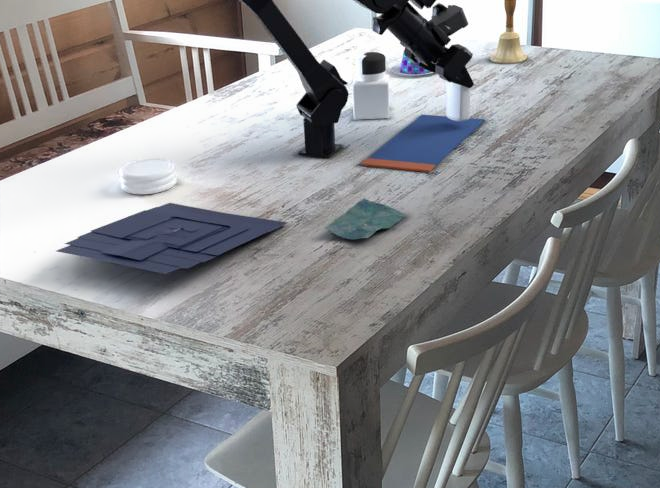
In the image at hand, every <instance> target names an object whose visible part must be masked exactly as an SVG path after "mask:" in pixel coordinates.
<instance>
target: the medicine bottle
mask: <svg viewBox="0 0 660 488" xmlns="http://www.w3.org/2000/svg"><path fill="white" fill-rule="evenodd" d="M354 65H355V66H354V69H355V75H353V78H352V109H353V111H352V112H353V120H355V121H357V120H359V121H360V120H379V119H389V118H390V75H389V74H388V73H387V69H386V67H387V66H386V65H387V64H386V56H385V54H383V53H381V52H377V51H367V52H362V53H359V54H358V55H356V57H355V58H354Z"/></svg>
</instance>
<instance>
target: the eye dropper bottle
mask: <svg viewBox="0 0 660 488" xmlns="http://www.w3.org/2000/svg"><path fill="white" fill-rule="evenodd" d="M466 66H467V65H466ZM466 66H465V67H466ZM466 68H467V67H466ZM445 83H446V85H445V89H446V90H445V116H447V117H448V118H449V119H451V120H454V121H466V120H469V118H471V95H472V93H471V92H472V91H471V90H472V87H471V88H467V87H465V86H462V85H459V84H456V83H453V82H448V81H446V82H445Z"/></svg>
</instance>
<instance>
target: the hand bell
mask: <svg viewBox="0 0 660 488" xmlns="http://www.w3.org/2000/svg"><path fill="white" fill-rule="evenodd" d="M503 4H504V5H503V6H504V11H505V15H506V20H505V32H502V33H501V34H500V35H499V36H498V37H499V39H498V44H497V47H496V49H495V52H494V53H493V54H492V55H491V56H490V58H489V59H490V61H491V62H493V63H495V64H504V65H507V64H508V65H511V64H518V63H522V62H525V61H526V60H527V59H528V57H527V55H526V53H524V51H523V50H522V46H521V39H520V34H518V33H517V32H515V31H514V30H515V29H514V14H515V11H516V8H517V7H516V6H517V0H504V2H503Z"/></svg>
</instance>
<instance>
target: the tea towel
mask: <svg viewBox="0 0 660 488" xmlns="http://www.w3.org/2000/svg"><path fill="white" fill-rule="evenodd" d="M484 122H485V119H484V118H473V117H470V118H469V120H466V121H454V120H451V119H449V118H448V117H447V116H446V115H433V114H420V116H418V117H416V118H415V119H414V120H412V122H411V123H410V124H408V125H407V126H406V127H405V128H403V129H402V130H401V131H400V132H398V133H397V134H396V135H394V136H393V137H392V138H391V139H389V140H388V141H387V142H386V143H385V144H383V145H382V146H381V147H379V148H378V149H377V150H376V151H375V152H374V153H373V152H372V153H371V155H369V156H368V157H367V158H366V159H364V160H363V161H361V162H360V166H361V167H373V168H381V169H392V170H401V171H402V170H403V171H410V172H411V171H412V172H423V173H430V172H431V171H433V170H434V169H435V168H436V167H437V166H438V165H439V164H440V163H441V162H442V161H443V160H444V159H445V158H447V157H448V156H449V155H450V154H451V153H452V152H453V151H454V150H456V148H457V147H458V146H459V145H460V144H461V143H462V142H464V141H465V140H466V139H467V138H468V137H469V136H471V134H472V133H473V132H475V131H476V129H478V128H479V127H480V126H481V125H482V124H483V123H484Z"/></svg>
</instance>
